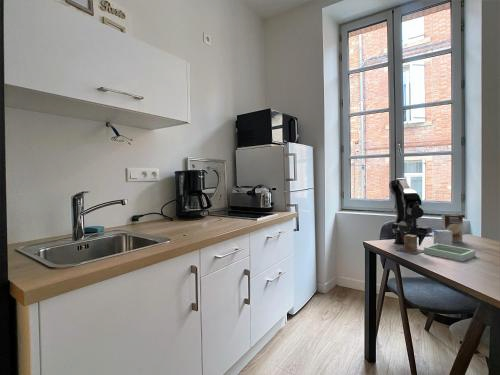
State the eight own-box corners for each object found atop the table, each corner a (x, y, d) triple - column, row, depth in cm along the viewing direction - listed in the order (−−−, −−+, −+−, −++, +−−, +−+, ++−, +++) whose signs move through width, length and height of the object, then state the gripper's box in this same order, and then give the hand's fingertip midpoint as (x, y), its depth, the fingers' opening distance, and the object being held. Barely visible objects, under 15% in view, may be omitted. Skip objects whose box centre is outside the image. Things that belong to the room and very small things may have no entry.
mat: (396, 250, 145) (396, 249, 145) (406, 247, 150) (406, 246, 150) (415, 254, 136) (415, 253, 136) (425, 251, 141) (425, 250, 141)
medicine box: (447, 244, 154) (447, 229, 154) (452, 246, 150) (452, 231, 149) (433, 244, 155) (433, 229, 155) (437, 246, 150) (437, 231, 150)
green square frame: (424, 253, 139) (423, 247, 139) (437, 248, 146) (437, 243, 146) (462, 261, 124) (462, 255, 124) (475, 256, 131) (475, 250, 131)
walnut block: (404, 249, 144) (404, 235, 144) (408, 248, 146) (408, 234, 146) (412, 251, 140) (412, 236, 140) (417, 250, 142) (417, 235, 142)
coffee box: (444, 241, 161) (444, 215, 160) (441, 239, 167) (441, 213, 166) (463, 242, 158) (463, 215, 157) (458, 239, 164) (458, 214, 163)
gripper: (385, 214, 146) (385, 242, 147) (420, 219, 130) (421, 250, 131) (396, 213, 152) (396, 239, 153) (432, 216, 136) (432, 246, 137)
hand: (410, 243), depth 143 cm, fingers open, 9 cm apart
